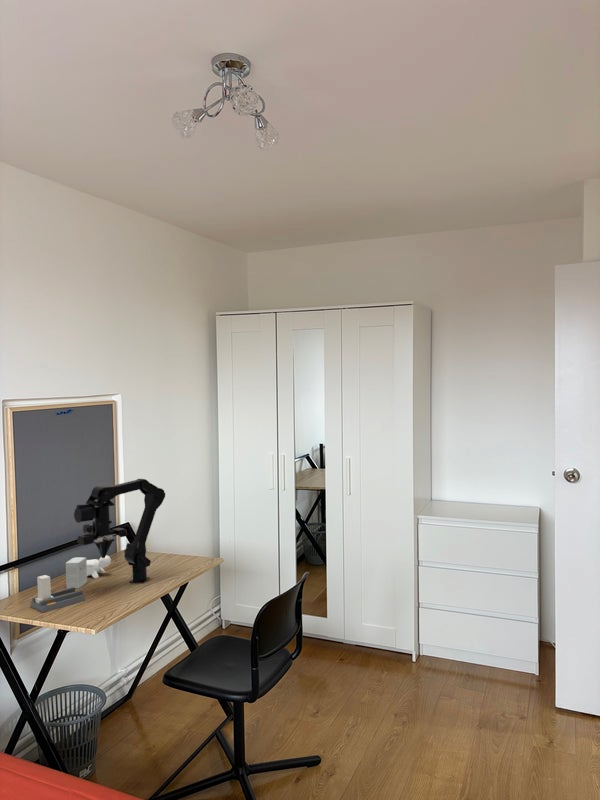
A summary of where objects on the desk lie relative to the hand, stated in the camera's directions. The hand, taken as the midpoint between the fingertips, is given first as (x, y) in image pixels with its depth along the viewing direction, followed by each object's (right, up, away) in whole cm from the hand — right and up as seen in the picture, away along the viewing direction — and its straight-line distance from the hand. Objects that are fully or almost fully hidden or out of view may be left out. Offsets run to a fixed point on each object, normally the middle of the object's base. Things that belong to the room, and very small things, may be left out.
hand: (103, 557), depth 241 cm
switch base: (-12, -14, -14) cm, 23 cm away
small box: (-13, -14, +8) cm, 21 cm away
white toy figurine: (-11, -14, +21) cm, 27 cm away
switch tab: (-16, -11, -18) cm, 26 cm away
